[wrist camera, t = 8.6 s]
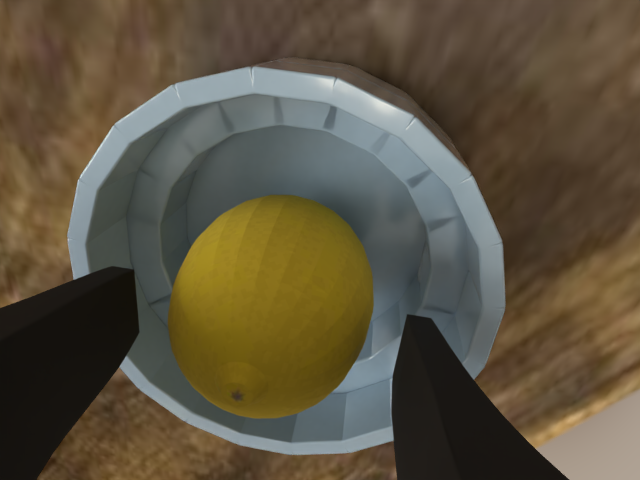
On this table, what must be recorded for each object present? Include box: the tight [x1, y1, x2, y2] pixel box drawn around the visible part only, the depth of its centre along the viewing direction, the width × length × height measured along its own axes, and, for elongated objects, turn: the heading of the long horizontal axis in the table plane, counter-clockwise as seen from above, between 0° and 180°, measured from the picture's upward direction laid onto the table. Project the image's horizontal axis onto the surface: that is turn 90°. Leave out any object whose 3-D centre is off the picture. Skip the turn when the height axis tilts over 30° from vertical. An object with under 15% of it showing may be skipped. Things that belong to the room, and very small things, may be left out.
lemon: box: [168, 195, 374, 419], centre depth 13 cm, size 6×6×8 cm
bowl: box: [67, 57, 506, 455], centre depth 15 cm, size 12×12×5 cm
